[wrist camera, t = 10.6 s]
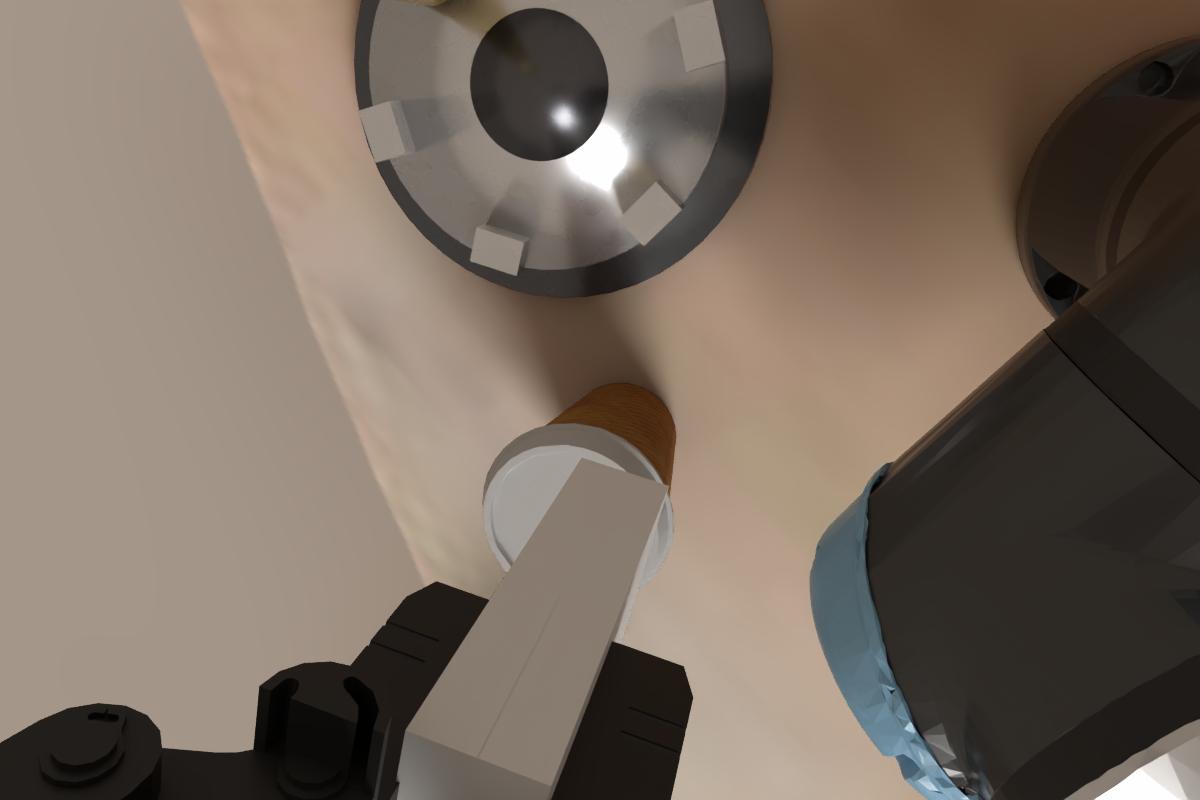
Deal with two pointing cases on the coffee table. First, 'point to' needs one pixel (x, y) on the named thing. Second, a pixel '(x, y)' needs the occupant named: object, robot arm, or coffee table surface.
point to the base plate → (701, 211)
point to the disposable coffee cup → (550, 454)
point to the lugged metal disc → (547, 119)
